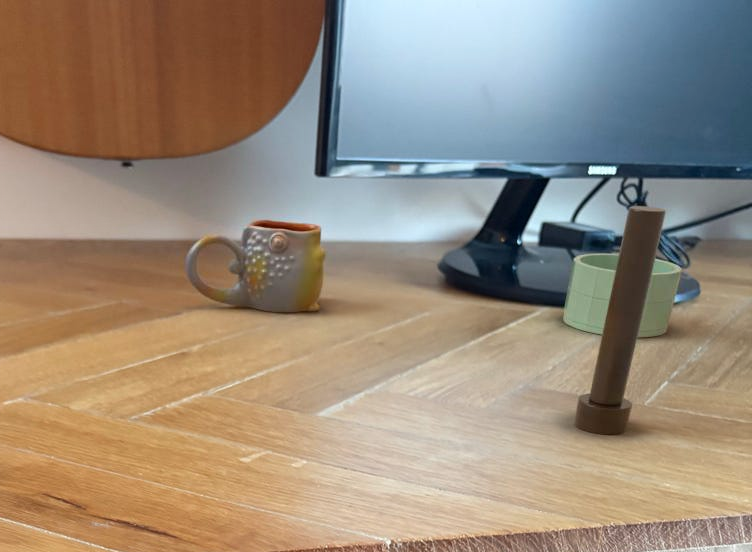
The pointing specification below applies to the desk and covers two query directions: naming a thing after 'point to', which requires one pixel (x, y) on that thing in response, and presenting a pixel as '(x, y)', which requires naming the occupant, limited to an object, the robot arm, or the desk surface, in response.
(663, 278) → the bowl
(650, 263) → the stick
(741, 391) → the desk surface
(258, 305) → the mug
